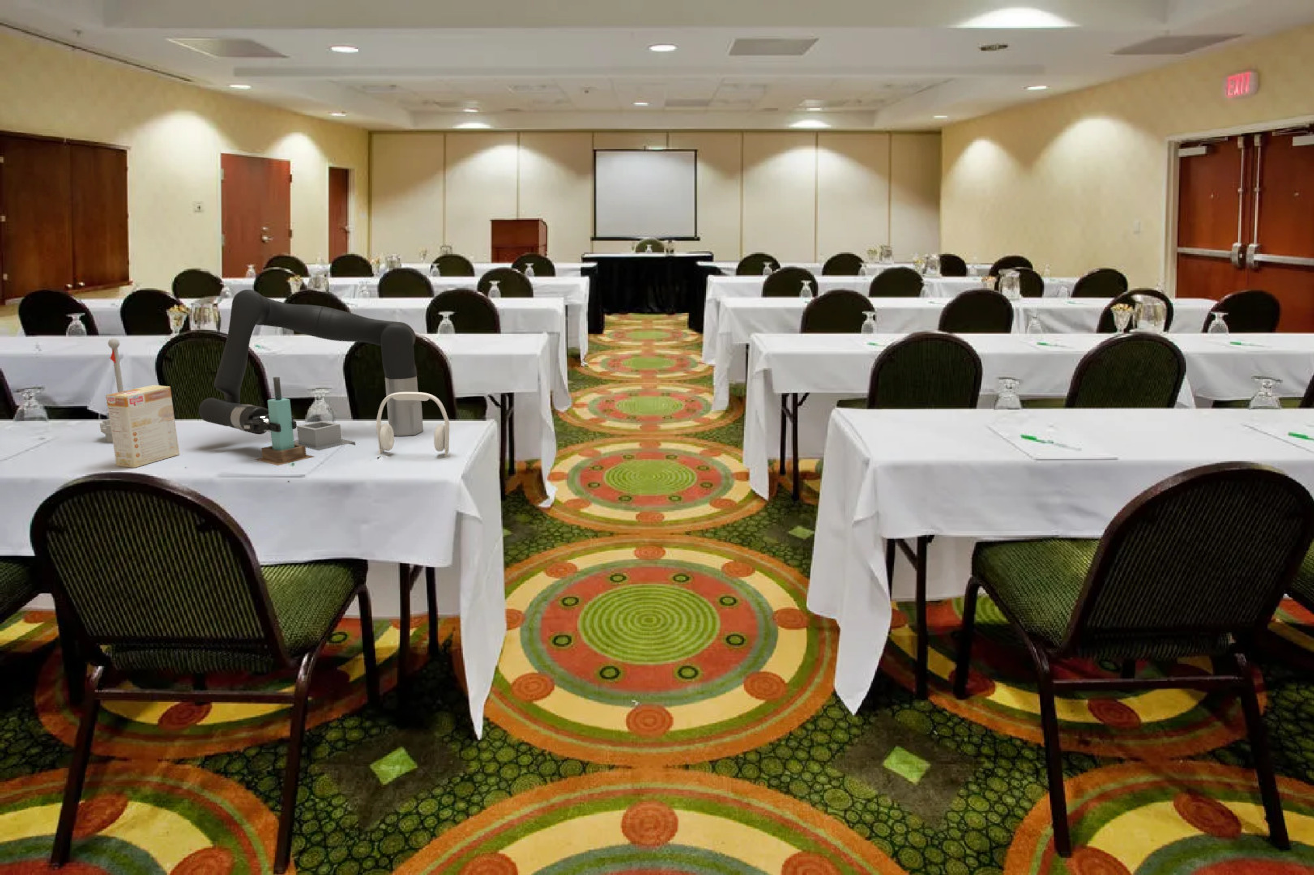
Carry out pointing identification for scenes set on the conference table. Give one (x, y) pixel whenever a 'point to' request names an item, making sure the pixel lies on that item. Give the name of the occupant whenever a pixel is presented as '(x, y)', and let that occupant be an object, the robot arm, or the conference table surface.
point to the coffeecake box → (142, 425)
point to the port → (320, 435)
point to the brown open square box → (283, 455)
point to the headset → (386, 430)
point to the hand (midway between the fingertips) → (287, 426)
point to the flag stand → (115, 358)
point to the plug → (281, 419)
